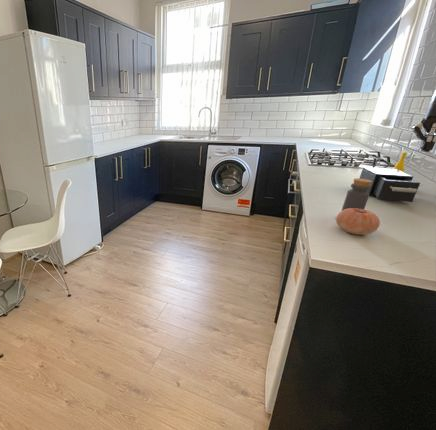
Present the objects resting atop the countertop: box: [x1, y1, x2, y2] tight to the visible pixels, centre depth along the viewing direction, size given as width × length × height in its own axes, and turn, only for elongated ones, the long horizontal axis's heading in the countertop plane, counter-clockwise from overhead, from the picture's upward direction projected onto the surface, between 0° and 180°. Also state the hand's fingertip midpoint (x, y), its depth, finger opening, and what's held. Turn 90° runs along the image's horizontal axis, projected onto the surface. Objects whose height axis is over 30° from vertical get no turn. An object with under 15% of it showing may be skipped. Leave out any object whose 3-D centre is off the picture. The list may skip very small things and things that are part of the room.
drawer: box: [372, 176, 421, 203], centre depth 120 cm, size 18×11×8 cm, turn 158°
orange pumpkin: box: [335, 208, 381, 236], centre depth 90 cm, size 11×11×8 cm
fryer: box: [359, 166, 414, 197], centre depth 128 cm, size 15×13×10 cm
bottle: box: [341, 177, 372, 211], centre depth 97 cm, size 6×6×15 cm
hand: (425, 151), depth 105 cm, fingers closed
